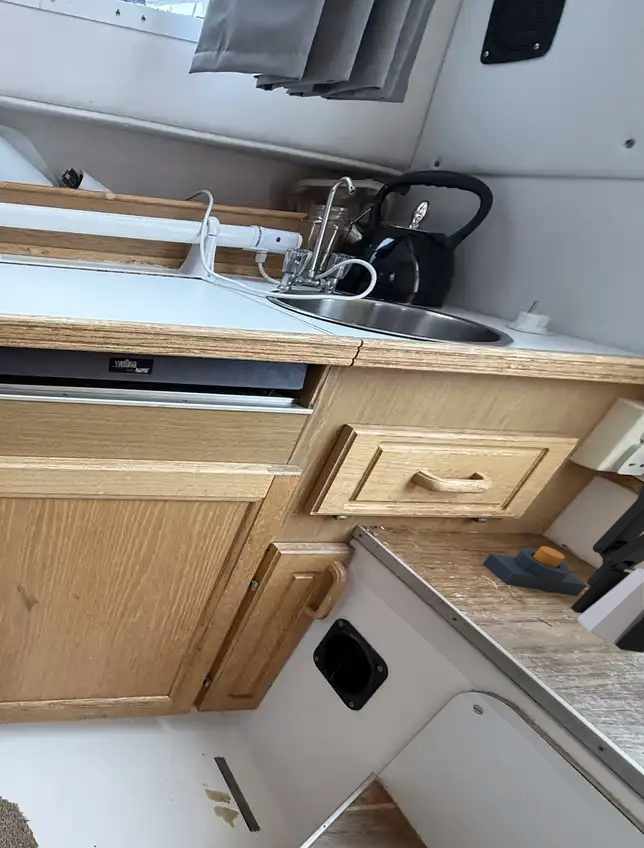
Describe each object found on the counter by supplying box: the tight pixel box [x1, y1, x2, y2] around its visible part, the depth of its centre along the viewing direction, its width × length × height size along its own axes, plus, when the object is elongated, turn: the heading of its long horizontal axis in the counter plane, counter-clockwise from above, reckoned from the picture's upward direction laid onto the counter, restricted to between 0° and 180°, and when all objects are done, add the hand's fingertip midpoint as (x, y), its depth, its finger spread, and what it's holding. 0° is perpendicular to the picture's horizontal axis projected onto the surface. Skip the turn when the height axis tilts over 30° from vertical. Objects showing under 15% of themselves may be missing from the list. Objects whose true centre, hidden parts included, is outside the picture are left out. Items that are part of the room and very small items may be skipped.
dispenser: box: [482, 547, 588, 596], centre depth 87 cm, size 12×6×4 cm, turn 88°
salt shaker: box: [577, 567, 644, 646], centre depth 64 cm, size 5×5×11 cm
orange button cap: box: [533, 545, 566, 568], centre depth 85 cm, size 3×3×2 cm
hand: (605, 629), depth 66 cm, fingers closed on salt shaker, 5 cm apart
